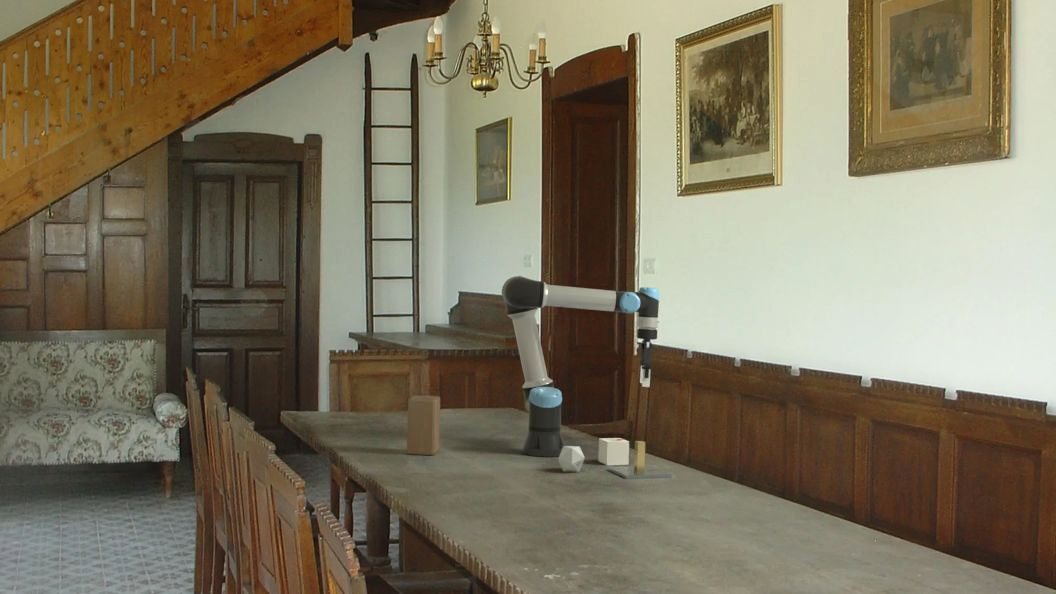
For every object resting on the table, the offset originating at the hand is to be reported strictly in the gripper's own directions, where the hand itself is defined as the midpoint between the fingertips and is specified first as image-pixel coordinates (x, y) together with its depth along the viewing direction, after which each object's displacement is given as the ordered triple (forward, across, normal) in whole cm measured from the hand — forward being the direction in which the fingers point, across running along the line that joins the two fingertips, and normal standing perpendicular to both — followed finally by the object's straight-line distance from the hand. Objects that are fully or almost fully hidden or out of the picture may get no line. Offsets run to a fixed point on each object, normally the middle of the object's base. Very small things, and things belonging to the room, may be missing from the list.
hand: (644, 385), depth 413 cm
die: (+25, -51, +26) cm, 62 cm away
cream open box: (+24, -32, +12) cm, 42 cm away
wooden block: (+26, -26, +79) cm, 87 cm away
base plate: (+24, -51, +4) cm, 57 cm away
